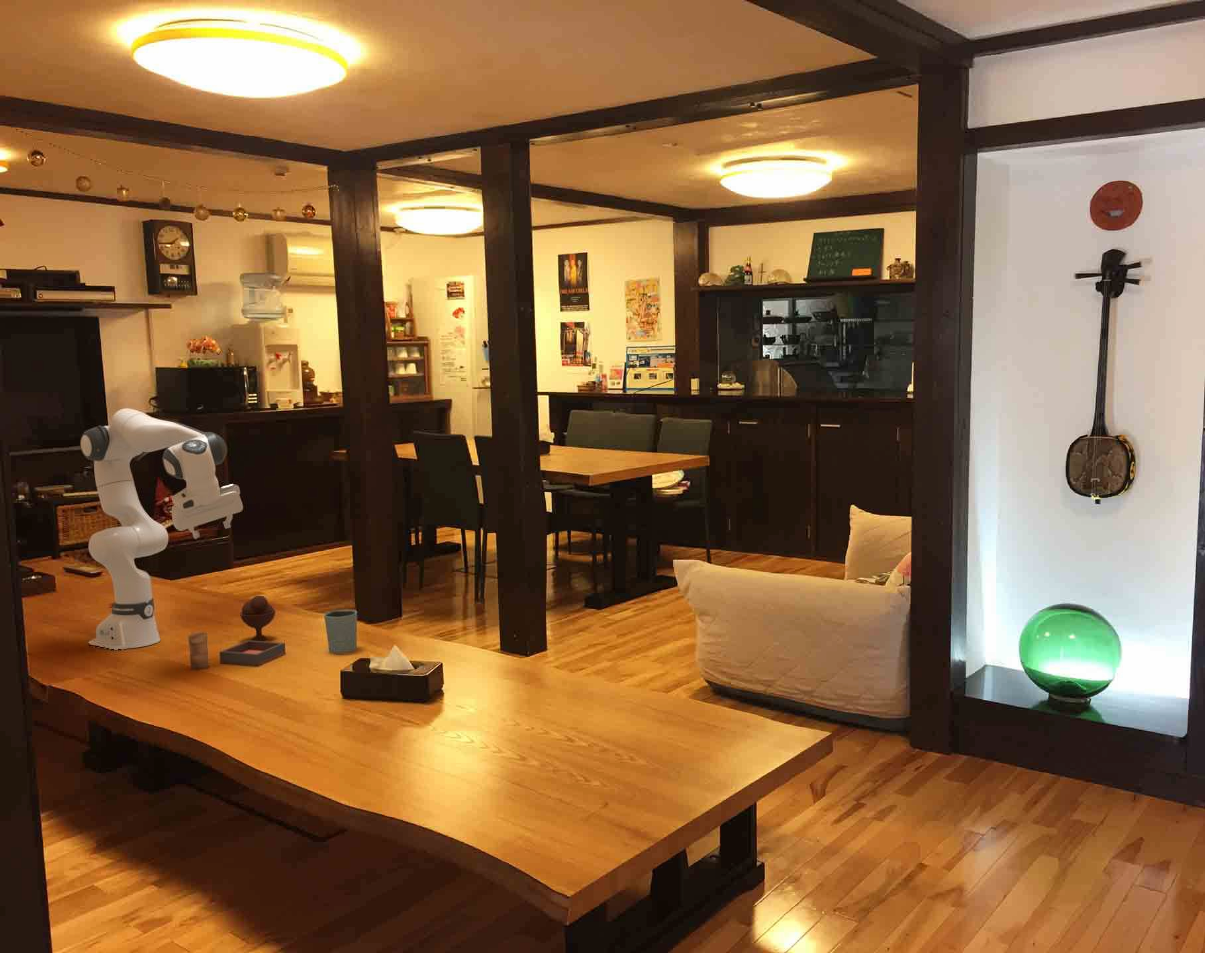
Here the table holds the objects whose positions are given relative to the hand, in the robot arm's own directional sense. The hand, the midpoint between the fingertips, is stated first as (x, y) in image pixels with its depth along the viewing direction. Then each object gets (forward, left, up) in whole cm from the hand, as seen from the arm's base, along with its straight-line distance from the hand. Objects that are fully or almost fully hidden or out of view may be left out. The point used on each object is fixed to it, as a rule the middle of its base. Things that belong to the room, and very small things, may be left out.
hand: (212, 532), depth 313 cm
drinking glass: (+32, +18, -40) cm, 54 cm away
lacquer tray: (+10, +3, -40) cm, 41 cm away
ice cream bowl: (-2, +22, -40) cm, 46 cm away
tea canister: (0, -9, -40) cm, 41 cm away
